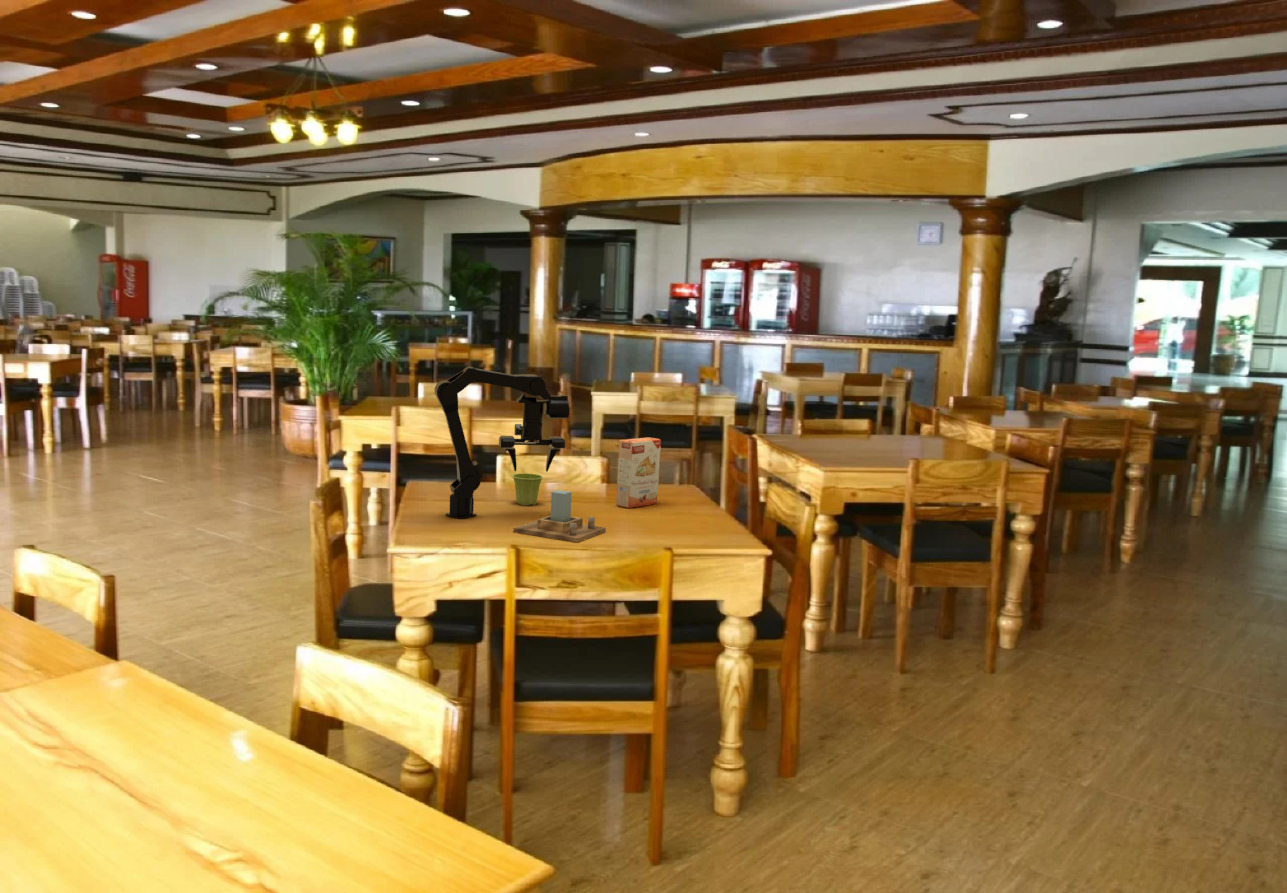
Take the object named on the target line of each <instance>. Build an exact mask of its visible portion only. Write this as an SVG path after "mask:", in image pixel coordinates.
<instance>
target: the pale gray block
mask: <svg viewBox="0 0 1287 893" xmlns="http://www.w3.org/2000/svg"><path fill="white" fill-rule="evenodd" d="M572 493H573V492H572V491H567V490H560V489H559V490H554V491H551V494H550V496H551V499H550V515H551V521H557V522H563V523H566V522H569V521H570V519H571V517H572V515H571V514H572Z"/></svg>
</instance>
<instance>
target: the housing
mask: <svg viewBox="0 0 1287 893" xmlns="http://www.w3.org/2000/svg"><path fill="white" fill-rule="evenodd" d="M583 520H584V519H583V517H576V516H571V519H570V521H569V522H566V523H563V522H557V521H551V514H550V515H548V516H547V515H546V516H544V517H541V518H538V519H536V520H534V521H530V522H528V523H525V524H521V525H518V526H515V527H513V528H512V529H513V530H512V532H513V533H515V534H516V533H517V534H522V535H527V534H529V536H535V537H541V538H547V539H553V540H557V541H565V542H570V543H576V542H578V543H579V542H582V540H583V541H585V540H584V539H586V540H588V539H590V538H593V537H596V536H599V535H601V534H603V533H606V532H607V531H606V530H607V528H606V527H604V526H597V525H595V522H596V517H595V516H588V519H587V524H585V523H584V522H583Z"/></svg>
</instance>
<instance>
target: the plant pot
mask: <svg viewBox="0 0 1287 893" xmlns="http://www.w3.org/2000/svg"><path fill="white" fill-rule="evenodd" d="M543 477H544V476H543V475H541V474H537V473H528V472H526V473H525V472H524V473H523V472H521V473H514V474H512V478H513V482H514V487H515V490H514V491H515V499H516V500H515V501H516V504H519V505H521V506H530V505H533V506H534V505H536V504H537V502H538V495H539V490H540V484H541V483H542V479H543Z"/></svg>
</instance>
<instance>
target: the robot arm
mask: <svg viewBox="0 0 1287 893" xmlns="http://www.w3.org/2000/svg"><path fill="white" fill-rule="evenodd" d="M473 382H475V383H483V384H488V385H494V386H498V387H504V388H511V389H514V390H517V391H519V392H522V393H521V394H520V396H519V397H517V399H516V403H519V404H522V405H523V406H522V407H523V408H522V424H521V423H515V424H514V436H520V438H515V437H514V436H513V435H500V436H499V438H498V446H499V448H503V450H504V451H506V452H508V454H509V458H510V460H511V464H512V466H513V471H514V472H517V455H516V454H517V452H516V448H515V446H547V454H546V455H547V456H546V461H545V472H549V470H550V467H551V465H552V462H553V460H554V458H555V457H556V455H557V452H561V449H565V448H566V439H564V438H563V437H562V436H556V435H555V436H549V438H543V424H544V423H543V420H544V417H543V416H544V415H545V416H547V419H560V420H561V419H569V416H570V409H571V408H570V402H569V400H568V398H569V397H568V395H567V394H563V395H551V394H550V393H549V392H548V390H547V389H546V381H545V380H544V379H543V377H541V376H539V375H537V374H534V373H533V374H531V373H525V374H524V373H523V374H511V373H503V372H498V371H493V370H487V369H480V368H478V367H477V368H475V367H473V366H466V367H465V368H463V369H462V370H461V371H460V372H458V373H456V374H454V375H453V376H451V377H450V378H449V379H447V380H446V379H445V380H440V381H438V382H437V383H436V385H434V394H435V396H436V398H437V401H438V403H439V405H440V407H441V409H442V411H443V414H444V416H445V420H446V424H447V428H448V433H449V436H450V440H451V442H452V447H453V451H454V455H455V458H456V459H455V460H456V475H457V476H456V477H457V478H455V480H453V482H452V483H451V484H450V485H449V487H450V490H451V494H450V495H449V512H447V513H446V512H445V516H447V517H452V518H456V519H459V520H460V519H468V518H472V517H476V516H477V515H478V514H477V513H474V505H475V504H474V503H475V502H474V500H475V499H474V493H475V491H476V490H478V488H479V487H480V486H481V479H483V477H482V475H481V473H480V466H479V463H478V462H477V461H476V460H474V461H472V459H471V457H470V456H471V455H470V452H469V448H468V444H467V440H466V436H465V432H464V428H463V425H462V421H461V417H460V413H459V395H458V394H459V393H460V392H462V391H463V390H464V389H465V388H467V387H469V385H470V384H472V383H473ZM524 393H525V394H527V395H531V396H526V395H525V394H524ZM537 397H539V398H541V399H542V400H541V399H540V400H539V399H537Z"/></svg>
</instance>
